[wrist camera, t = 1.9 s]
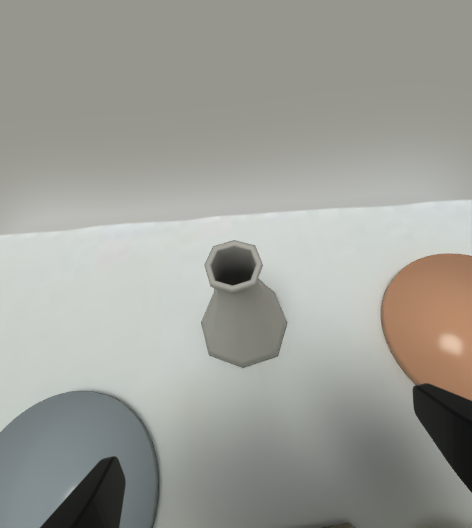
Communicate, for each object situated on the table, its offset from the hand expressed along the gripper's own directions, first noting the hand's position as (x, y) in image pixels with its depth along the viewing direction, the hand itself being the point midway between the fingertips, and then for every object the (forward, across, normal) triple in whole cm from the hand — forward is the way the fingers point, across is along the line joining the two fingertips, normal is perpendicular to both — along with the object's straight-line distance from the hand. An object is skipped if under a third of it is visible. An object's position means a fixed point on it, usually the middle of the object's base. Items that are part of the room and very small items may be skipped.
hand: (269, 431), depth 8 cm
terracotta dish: (+12, -17, +7) cm, 22 cm away
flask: (+15, 0, +4) cm, 16 cm away
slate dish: (+9, +14, +10) cm, 20 cm away
